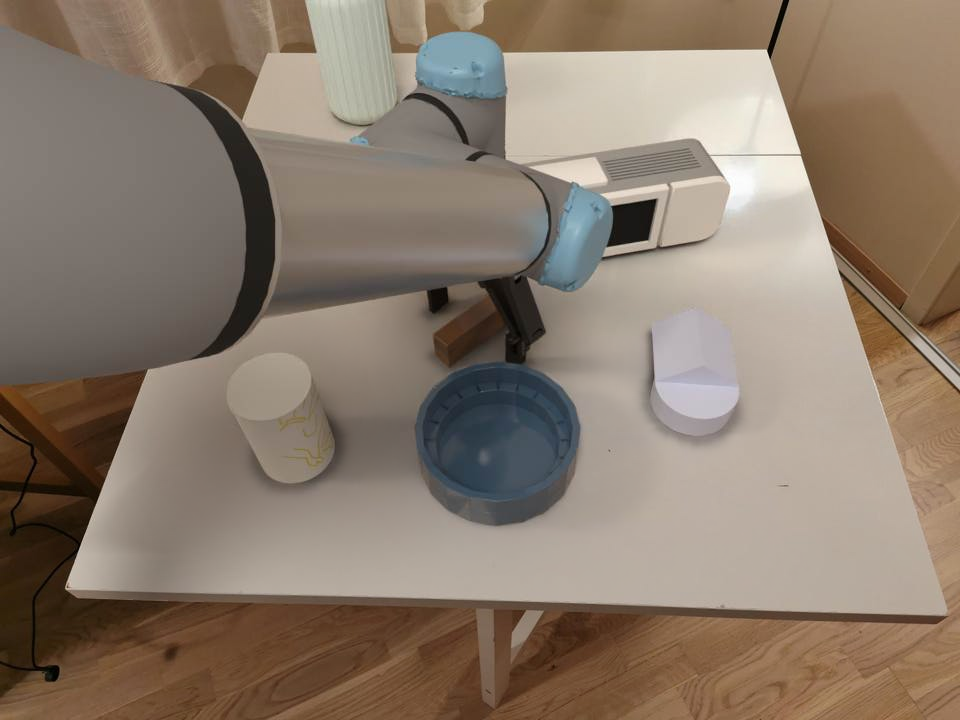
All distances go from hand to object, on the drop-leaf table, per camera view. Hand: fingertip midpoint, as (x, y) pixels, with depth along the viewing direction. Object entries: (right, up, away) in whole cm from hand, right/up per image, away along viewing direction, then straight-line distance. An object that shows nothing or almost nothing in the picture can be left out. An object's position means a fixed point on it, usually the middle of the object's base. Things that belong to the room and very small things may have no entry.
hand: (476, 335), depth 87 cm
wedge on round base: (+24, -6, -5) cm, 26 cm away
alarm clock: (+18, +14, +11) cm, 25 cm away
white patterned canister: (-20, -13, -9) cm, 25 cm away
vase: (-19, +38, +32) cm, 53 cm away
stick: (0, 0, 0) cm, 0 cm away
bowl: (+2, -13, -11) cm, 17 cm away
